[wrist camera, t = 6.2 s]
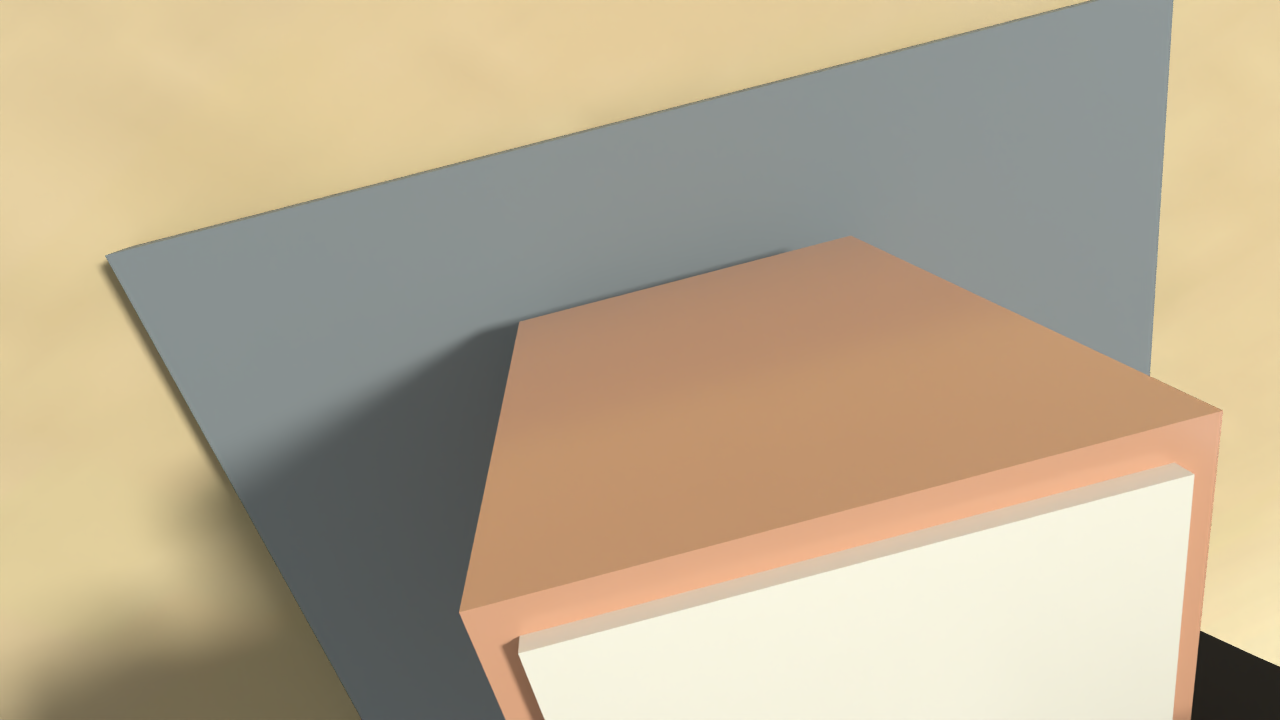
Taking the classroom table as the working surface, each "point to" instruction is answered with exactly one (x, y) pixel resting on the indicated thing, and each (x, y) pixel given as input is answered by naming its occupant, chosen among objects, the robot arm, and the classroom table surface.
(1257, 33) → the classroom table surface
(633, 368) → the brick
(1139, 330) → the mat
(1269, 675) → the robot arm
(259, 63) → the classroom table surface
